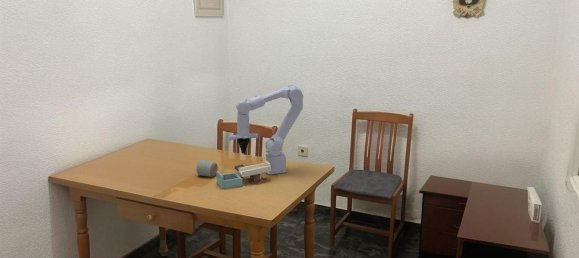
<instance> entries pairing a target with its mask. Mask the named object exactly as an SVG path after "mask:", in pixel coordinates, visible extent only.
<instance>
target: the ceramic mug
mask: <svg viewBox="0 0 579 258" xmlns="http://www.w3.org/2000/svg"><path fill="white" fill-rule="evenodd" d="M218 168H219V166H218V164H217V162H214V161H209V160H206V159H205V160H204V159H200V160H199V161H198V162H197V165H196V174H197V175H198V176H201V177H209V178H212V177H213V178H214V177H215V176H217V173H216V171H219V169H218Z"/></svg>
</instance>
